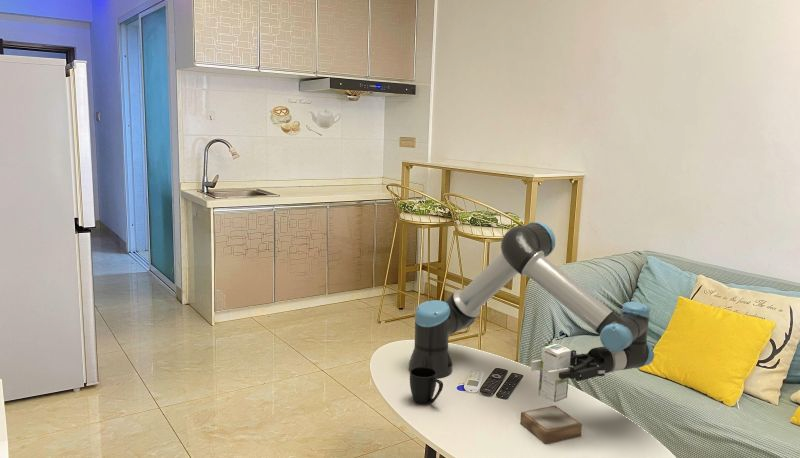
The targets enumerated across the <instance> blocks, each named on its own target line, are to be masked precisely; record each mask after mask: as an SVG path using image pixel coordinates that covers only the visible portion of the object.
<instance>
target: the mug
mask: <svg viewBox="0 0 800 458" xmlns="http://www.w3.org/2000/svg"><path fill="white" fill-rule="evenodd" d="M436 375H437V372H436V371H435V370H434V369H432V368H429V367H415V368H413V369H411V370H410V371H409V387H410V392H411V396H412V399H413V402H414V403H415V404H416V405H421V406H425V405H429V404H433V403H434V402H435V401H436V400H437V399H438V397H439V396H440V394H441V393H442V391H443V388H444V382H443V381H442V380H440V379H439V378H436ZM437 384H438V389H437V392H436V394H435V391H436V385H437ZM434 394H435V395H434Z"/></svg>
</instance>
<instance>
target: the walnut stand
mask: <svg viewBox="0 0 800 458" xmlns="http://www.w3.org/2000/svg"><path fill="white" fill-rule="evenodd" d="M519 423H520V424H521V426H523V427H524V428H525V429H526V430H527V431H529V432H530V433H531V434H532V435H534V437H536V438H537V439H538V440H539V441H541V442H542V443H544V444H545V445H548V444H553V443H557V442H561V441H566V440H570V439H575V438H579V437H581V436H582V428H583V424H582V423H580V422H579V421H578V420H576V419H575V418H573V417H572V416H571V415H569V414H568V413H566V412H565V411H563V410H562V408H559V407H558V406H557V405H550V406H546V407H540V408H537V409H536V408H535V409H531V410H526V411H521V412H520V420H519Z"/></svg>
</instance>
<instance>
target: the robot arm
mask: <svg viewBox="0 0 800 458" xmlns="http://www.w3.org/2000/svg"><path fill="white" fill-rule="evenodd" d="M555 246H556V236H555V234H554V231H553V230H552V229H551V227H550V226H549V225H547V224H545V223H543V222H540V221H539V222H529V223H528V224H525V225H520V226H515V227H513V228H511V229H509V230H507V231H506V233H505V234H504V235H503V237H502V240H501V243H500V249H501V253H500V254H499V255H498V256H497V257H495V259H493V260H492V261H491V262H490V263H489V265H487V266H486V267H485V268H484V269H483V270H481V272H480V273H479V274H477V276H476V277H474V279H473V280H472V281H470V283H468V284H467V286H465V288H463V289H456V290H455V291H453V293H452V294H451V295H449V297H447V298H446V300H444V301H443V300H439V299H438V300H437V299H435V300H426V301H424V302H421V303H419V304H418V305H417V307H416V308H415V315H414V347H413V351H412V354H411V356H410V359H409V362H408V370H409V372H410V370H411V369H413V368H415V367H429V368H432V369H434V370H435V371H436V372H437V375H436V379H440V378H445V377H448V376H450V375H451V374H452V372H453V362H452V358H451V353H450V351H449V338H450V337H449V336H451V335H453V334H455V333H457V332H460V331H461V330H464V329H467V328H469V327H470V326H471V325H472V324H473V323H475V321H476V319H477V317H478V316H479V315H480V312H481V307H482V306H483V305H484V304H486V303H487V302H488V301H489V300H490V299H491V298H492V297H494V296H495V295H496V294H497V293H498V292H499V291H500V290H501V289H502V288H503V287H505V285H507V284H508V283H509V282H510V281H511V280H512V279H514V278H515V276H517V275H518V274H520V276H522V277H529V278H530V279H531V280H532V281H533V282H535V284H537V285H538V286H539V287H541V288H542V289H543V290H544V291H545V292H547V293H548V294H549V295H550V296H551V297H553V298H554V299H555V300H556V301H557V302H559V304H561V305H563V306H564V308H565V309H567V310H568V311H570V312H571V313H573V315H574V316H576V317H577V318H578V319H579V320H581V321H582V322H583V323H584V324H586V325H587V326H588V327H589V328H590V329H592V330H593V331H594V332H595V333H597V334H598V335H599V340H600V342H601V345H602V346H598V347H593V348H590V349H589V351H588V352H587V353H580V354H578V353H577V350H575V349H572V350H571V357H570V369H568V368H562V369H556V370H551V371H547V381H548V382H549V381H554V380H560V379H565V378H569V379H570V380H575V381H576V382H580V381H581V382H582V381H585V380H588V379H593V378H596V377H605V374H609V373H615V372H618V371H625V370H632V369H635V368H636V369H640V368H642V367H645V366H648V365H650V364H651V363H653V361H654V359H655V352H654V351H653V350H654V348H653V345H652V344H651V343H650V342H648V332H649V321H650V318H651V317H650V308H649V306H648V305H647V304H645V303H643V302H639V301H626V302H624V303H623V304H622V308H621V311H620V313H621V315H620V316H619V315H618V314H616V313H615V312H614V311H613V310H612V309H610V308H609V307H608V306H607V305H606V304H604V303H603V302H602V301H600V300H599V299H598V298H597V297H595V296H594V295H593V294H592V293H590V292H589V291H588V290H586V289H585V288H584V287H583V286H582V285H580V284H579V283H578V282H576V281H575V280H574V279H573V278H572V277H571V276H569V275H568V274H567V273H565V272H564V271H563V270H562V269H560V268H559V267H558V266H556V265H555V264H554V263H553V262H552V261H550V260H549V259H548V258H547V257H548V256H550V254H552V252H553V251H554V249H555V248H556V247H555ZM530 362H531V365H530V371H532V372H536V371H540V367H541V359H535V360H531V361H530Z"/></svg>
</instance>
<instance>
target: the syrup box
mask: <svg viewBox="0 0 800 458" xmlns="http://www.w3.org/2000/svg"><path fill="white" fill-rule="evenodd" d="M571 351H572V350H571V349H569V348H567V347H565V346H563V345H560V344H559V343H554V344H551V345H547V346H543V347H542V348H541V356H540V357H541V358H540V360H541V367H540V370H539V381H538V394H537V395H538V396H540V397H541V398H544V399H545V400H547V401H550V402H552V403H557V402H559V401H561V400H564V399H566V398H568V389H569V381H570V380H569V379H570V378H565V379H560V380H554V381H549V382H548V381H547V371H551V370H556V369H562V368H568V369H569V370H570V357H571Z"/></svg>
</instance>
